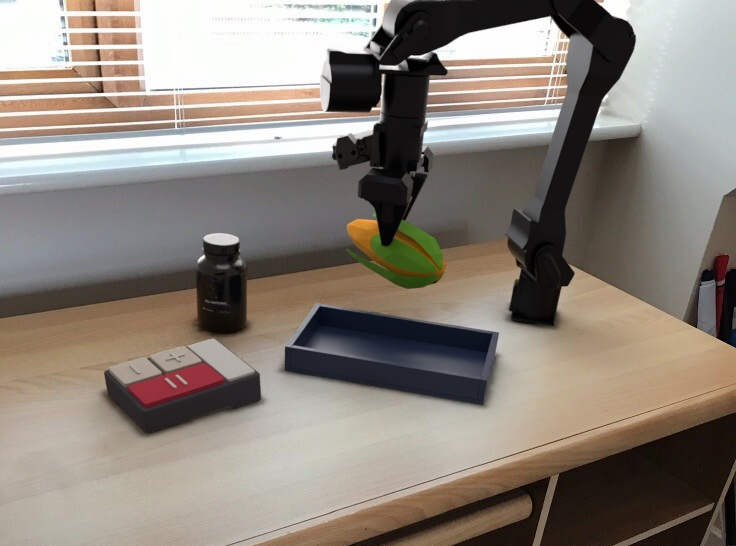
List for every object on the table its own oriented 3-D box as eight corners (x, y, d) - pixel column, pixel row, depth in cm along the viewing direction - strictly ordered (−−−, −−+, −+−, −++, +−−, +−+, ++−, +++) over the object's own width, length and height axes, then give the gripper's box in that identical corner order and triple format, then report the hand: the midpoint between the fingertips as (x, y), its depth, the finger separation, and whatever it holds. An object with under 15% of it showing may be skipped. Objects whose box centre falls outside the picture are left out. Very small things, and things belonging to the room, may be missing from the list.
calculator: (101, 365, 99) (214, 332, 106) (106, 397, 101) (217, 363, 108) (142, 406, 92) (261, 368, 99) (147, 439, 94) (262, 400, 102)
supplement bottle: (207, 337, 115) (204, 250, 107) (191, 317, 119) (186, 232, 112) (254, 330, 117) (254, 244, 110) (236, 311, 122) (235, 228, 115)
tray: (495, 355, 116) (499, 332, 114) (482, 405, 104) (487, 380, 102) (315, 325, 120) (316, 303, 118) (284, 370, 108) (284, 346, 106)
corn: (419, 247, 106) (326, 201, 118) (413, 304, 111) (324, 254, 123) (462, 237, 110) (368, 194, 122) (455, 293, 115) (364, 245, 127)
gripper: (359, 92, 114) (351, 209, 124) (320, 120, 100) (315, 250, 109) (440, 102, 113) (426, 220, 122) (412, 132, 98) (399, 263, 107)
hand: (391, 237), depth 115 cm, fingers closed on corn, 7 cm apart
